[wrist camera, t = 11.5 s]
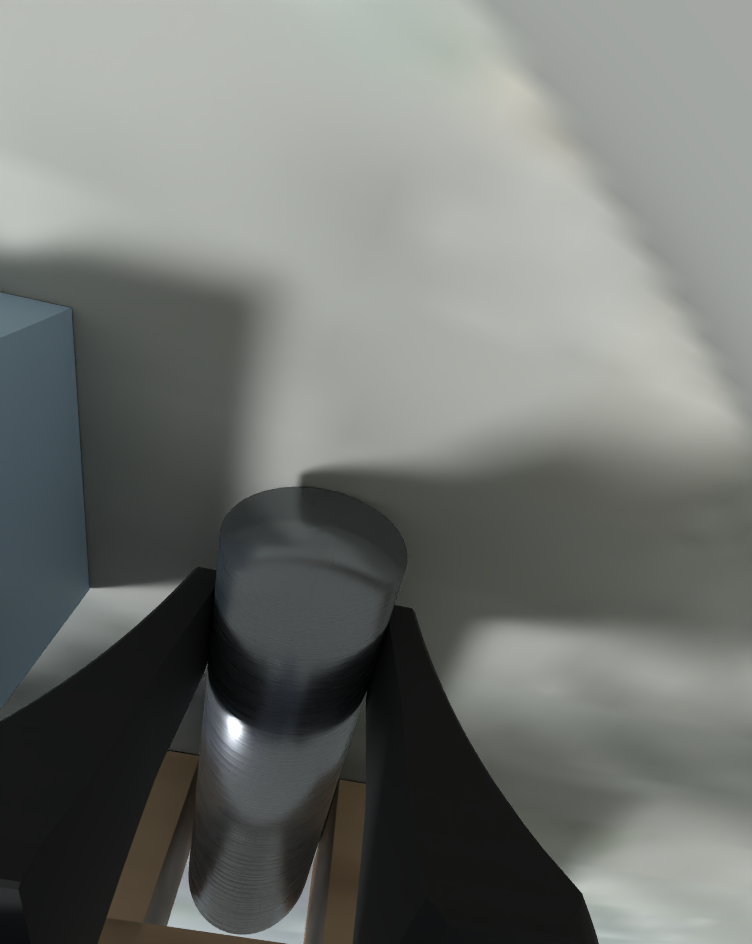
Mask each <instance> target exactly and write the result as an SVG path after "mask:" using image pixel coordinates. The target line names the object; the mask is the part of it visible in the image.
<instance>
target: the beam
mask: <svg viewBox="0 0 752 944" xmlns="http://www.w3.org/2000/svg"><path fill="white" fill-rule="evenodd" d="M198 765H199V756H197V755H191V754H185V753H179V752H173V751H167V753H166V755H165V757H164V759H163V762H162V764H161V767H160V769H159V771H158V774H157V776H156V778H155V781H154V784H153V786H152V789H151V792H150V795H149V797H148V800H147V803H146V806H145V808H144V811H143V814H142V817H141V819H140V822H139V825H138V828H137V831H136V834H135V836H134V839H133V842H132V845H131V848H130V851H129V853H128V856H127V859H126V862H125V865H124V868H123V870H122V873H121V876H120V879H119V882H118V885H117V888H116V891H115V894H114V897H113V900H112V903H111V906H110V909H109V912H108V915H107V917H106V920H105V923H104V926H103V929H102V932H101V935H100V938H99V941H98V944H285V943H278V942H271V941H264V940H257V939H250V938H243V937H236V936H230V935H223V934H216V933H209V932H202V931H195V930H188V929H181V928H174V927H168V926H167V923H168V920H169V917H170V914H171V910H172V907H173V904H174V901H175V897H176V894H177V891H178V888H179V884H180V881H181V878H182V875H183V872H184V868H185V865H186V862H187V859H188V855H189V852H190V849H191V840H192V829H193V819H194V808H195V797H196V786H197V776H198ZM365 800H366V784H363V783H358V782H352V781H346V780H339V783H338V787H337V790H336V793H335V796H334V799H333V803H332V806H331V809H330V812H329V815H328V818H327V822H326V825H325V828H324V831H323V834H322V837H321V841H320V844H319V847H318V850H317V853H316V857H315V860H314V864H313V872H312V879H311V887H310V895H309V903H308V911H307V919H306V927H305V935H304V943H303V944H352V943H353V933H354V924H355V915H356V905H357V895H358V885H359V874H360V864H361V853H362V842H363V831H364V820H365Z"/></svg>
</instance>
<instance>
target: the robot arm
mask: <svg viewBox="0 0 752 944" xmlns="http://www.w3.org/2000/svg"><path fill="white" fill-rule="evenodd" d="M216 572H217V570H212V569H207V568H202V567H198V568H196V569H194V570H193V571H192V572H191V573H190V574H189V575H188V576H187V578H186V579H185V580H184V581H183V582H182V583H181V584H180V585H179V586H178V587H177V588H176V589H175V590H174V591H173V592H172V593H171V594H170V595H169V596H168V597H167V598H166V599H165V600H164V601H163V602H162V603H161V604H160V605H159V606H158V607H156V608H155V609H154V610H153V611H152V612H151V613H150V614H149V615H148V616H147V617H146V618H144V619H143V620H142V621H141V622H140V623H139V624H138V625H137V626H136V627H134V628H133V629H132V630H131V631H130V632H128V633H127V634H126V635H125V636H124V637H122V638H121V639H120V640H119V641H118V642H116V643H115V644H114V645H113V646H111V647H110V648H109V649H108V650H107V651H105V652H104V653H103V654H101V655H100V656H99V657H98V658H96V659H95V660H94V661H92V662H91V663H90V664H88V665H87V666H86V667H84V668H83V669H81V670H80V671H79V672H77V673H76V674H74V675H73V676H71V677H70V678H69V679H67V680H66V681H64V682H63V683H61V684H60V685H58V686H57V687H55V688H54V689H52V690H51V691H49V692H48V693H46V694H44V695H43V696H41V697H40V698H38V699H37V700H35V701H34V702H32V703H31V704H29V705H27V706H26V707H24V708H22V709H21V710H19V711H17V712H16V713H14V714H12V715H11V716H9V717H7V718H5V719H3V720H2V721H0V944H98V941H99V938H100V935H101V932H102V929H103V926H104V923H105V920H106V917H107V915H108V912H109V909H110V906H111V903H112V900H113V897H114V894H115V891H116V888H117V885H118V882H119V879H120V876H121V873H122V870H123V868H124V865H125V862H126V859H127V856H128V853H129V851H130V848H131V845H132V842H133V839H134V836H135V834H136V831H137V828H138V825H139V822H140V819H141V817H142V814H143V811H144V808H145V806H146V803H147V800H148V797H149V795H150V792H151V789H152V786H153V784H154V781H155V778H156V776H157V774H158V771H159V769H160V767H161V764H162V762H163V759H164V757H165V755H166V753H167V751H168V749H169V747H170V744H171V742H172V740H173V738H174V736H175V734H176V732H177V729H178V727H179V725H180V723H181V721H182V719H183V717H184V714H185V712H186V710H187V708H188V706H189V704H190V702H191V699H192V697H193V695H194V693H195V691H196V689H197V686H198V684H199V682H200V680H201V678H202V675H203V673H204V671H205V668H206V665H207V662H208V657H209V647H210V636H211V625H212V615H213V604H214V593H215V582H216ZM352 944H599V943H598V939H597V935H596V932H595V929H594V926H593V923H592V920H591V917H590V914H589V911H588V909H587V906H586V903H585V900H584V897H583V894H582V893H581V892H580V891H579V890H578V888H577V887H576V886H575V885H574V884H573V883H572V881H571V880H570V879H569V878H568V877H567V876H566V875H565V873H564V872H563V871H562V870H561V869H560V868H559V867H558V865H557V864H556V863H555V862H554V861H553V860H552V859H551V857H550V856H549V855H548V854H547V853H546V852H545V850H544V849H543V848H542V847H541V845H540V844H539V843H538V842H537V840H536V839H535V838H534V836H533V835H532V834H531V833H530V831H529V830H528V829H527V827H526V826H525V825H524V824H523V822H522V821H521V819H520V818H519V817H518V815H517V814H516V812H515V811H514V809H513V808H512V807H511V805H510V804H509V802H508V801H507V800H506V798H505V797H504V795H503V794H502V792H501V791H500V790H499V788H498V787H497V785H496V784H495V782H494V781H493V779H492V778H491V776H490V775H489V773H488V771H487V770H486V768H485V767H484V765H483V763H482V762H481V760H480V759H479V757H478V755H477V753H476V752H475V750H474V748H473V747H472V745H471V743H470V741H469V740H468V738H467V736H466V734H465V732H464V731H463V729H462V727H461V725H460V723H459V721H458V719H457V717H456V715H455V713H454V711H453V709H452V707H451V705H450V703H449V701H448V699H447V696H446V694H445V692H444V690H443V688H442V685H441V683H440V681H439V678H438V676H437V673H436V671H435V669H434V666H433V664H432V661H431V659H430V656H429V654H428V651H427V648H426V645H425V643H424V640H423V637H422V634H421V631H420V628H419V624H418V621H417V618H416V614H415V612H414V611H413V609H412V608H407V607H402V606H396V605H394V607H393V610H392V613H391V616H390V619H389V622H388V626H387V629H386V632H385V635H384V638H383V641H382V644H381V648H380V651H379V654H378V657H377V660H376V663H375V666H374V670H373V673H372V676H371V679H370V682H369V685H368V688H367V696H366V800H365V820H364V831H363V842H362V853H361V864H360V874H359V885H358V895H357V905H356V915H355V924H354V933H353V943H352Z"/></svg>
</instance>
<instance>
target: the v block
mask: <svg viewBox="0 0 752 944" xmlns="http://www.w3.org/2000/svg"><path fill="white" fill-rule="evenodd" d="M88 591H89V574H88V558H87V543H86V527H85V512H84V496H83V480H82V465H81V449H80V433H79V418H78V402H77V386H76V371H75V355H74V340H73V324H72V308H69V307H65V306H60V305H56V304H51V303H47V302H42V301H38V300H33V299H29V298H24V297H20V296H15V295H11V294H6V293H2V292H0V709H1V708H2V706H3V705H4V704H5V702H6V701H7V700H8V698H9V697H10V696H11V694H12V693H13V692H14V690H15V689H16V688H17V686H18V685H19V684H20V682H21V681H22V680H23V678H24V677H25V676H26V674H27V673H28V671H29V670H30V669H31V667H32V666H33V665H34V663H35V662H36V661H37V659H38V658H39V657H40V655H41V654H42V653H43V651H44V650H45V649H46V647H47V646H48V645H49V643H50V642H51V640H52V639H53V638H54V636H55V635H56V634H57V632H58V631H59V630H60V628H61V627H62V626H63V624H64V623H65V622H66V620H67V619H68V618H69V616H70V615H71V614H72V612H73V611H74V610H75V608H76V607H77V605H78V604H79V603H80V601H81V600H82V599H83V597H84V596H85V595H86V593H87V592H88Z"/></svg>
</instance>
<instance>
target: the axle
mask: <svg viewBox="0 0 752 944" xmlns="http://www.w3.org/2000/svg"><path fill="white" fill-rule="evenodd" d="M406 565H407V550H406V546H405V543H404V540H403V538H402V536H401V535H400V533H399V531H398V530H397V529H396V527H395V526H394V525H393V524H392V523H391V522H390V521H389V520H388V519H387V518H386V517H385V516H384V515H382V514H381V513H380V512H378V511H377V510H375V509H374V508H372V507H371V506H369V505H367V504H365V503H364V502H361V501H359V500H357V499H355V498H352V497H350V496H347V495H344V494H341V493H337V492H334V491H329V490H325V489H318V488H309V487H285V488H277V489H271V490H267V491H263V492H260V493H257V494H254V495H252V496H250V497H248V498H246V499H244V500H243V501H241V502H239V503H238V504H237V505H236V506H235V507H233V508H232V509H231V510H230V512H229V513H228V514H227V515H226V517H225V519H224V521H223V523H222V526H221V529H220V539H219V550H218V561H217V572H216V582H215V593H214V604H213V615H212V625H211V636H210V647H209V657H208V668H207V679H206V690H205V700H204V711H203V722H202V733H201V743H200V754H199V765H198V776H197V786H196V797H195V808H194V819H193V829H192V840H191V851H190V861H189V886H190V891H191V895H192V898H193V900H194V903H195V905H196V907H197V908H198V910H199V911H200V913H201V914H202V916H203V917H204V918H205V919H206V920H207V921H208V922H209V923H211V924H212V925H213V926H215V927H217V928H218V929H220V930H223V931H225V932H228V933H233V934H252V933H257V932H260V931H263V930H265V929H267V928H270V927H272V926H273V925H275V924H276V923H278V922H279V921H280V920H281V919H283V918H284V917H285V916H286V915H287V914H288V913H289V912H290V911H291V909H292V908H293V907H294V905H295V904H296V902H297V901H298V899H299V897H300V895H301V893H302V891H303V888H304V886H305V883H306V880H307V877H308V874H309V871H310V867H311V864H312V861H313V858H314V855H315V852H316V849H317V845H318V842H319V839H320V836H321V833H322V830H323V827H324V823H325V820H326V817H327V814H328V811H329V808H330V805H331V801H332V798H333V795H334V792H335V789H336V786H337V783H338V779H339V776H340V773H341V770H342V767H343V764H344V761H345V757H346V754H347V751H348V748H349V745H350V742H351V739H352V735H353V732H354V729H355V726H356V723H357V720H358V717H359V714H360V710H361V707H362V704H363V701H364V698H365V695H366V692H367V688H368V685H369V682H370V679H371V676H372V673H373V670H374V666H375V663H376V660H377V657H378V654H379V651H380V648H381V644H382V641H383V638H384V635H385V632H386V629H387V626H388V622H389V619H390V616H391V613H392V610H393V607H394V604H395V600H396V597H397V594H398V591H399V588H400V585H401V582H402V578H403V575H404V572H405V569H406Z"/></svg>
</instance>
